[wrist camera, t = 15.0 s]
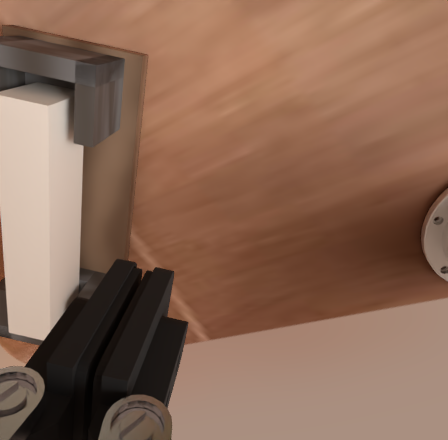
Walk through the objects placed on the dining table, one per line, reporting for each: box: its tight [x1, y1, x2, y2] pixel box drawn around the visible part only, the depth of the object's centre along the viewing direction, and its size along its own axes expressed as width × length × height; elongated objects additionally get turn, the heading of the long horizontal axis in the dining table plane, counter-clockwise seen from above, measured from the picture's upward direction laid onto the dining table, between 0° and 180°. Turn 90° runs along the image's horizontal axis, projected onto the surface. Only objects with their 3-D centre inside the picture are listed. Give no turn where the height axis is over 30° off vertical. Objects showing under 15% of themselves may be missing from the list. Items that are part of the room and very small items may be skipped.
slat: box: [0, 82, 83, 341], centre depth 35 cm, size 22×4×6 cm, turn 169°
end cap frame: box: [0, 25, 148, 345], centre depth 38 cm, size 12×29×8 cm, turn 169°
